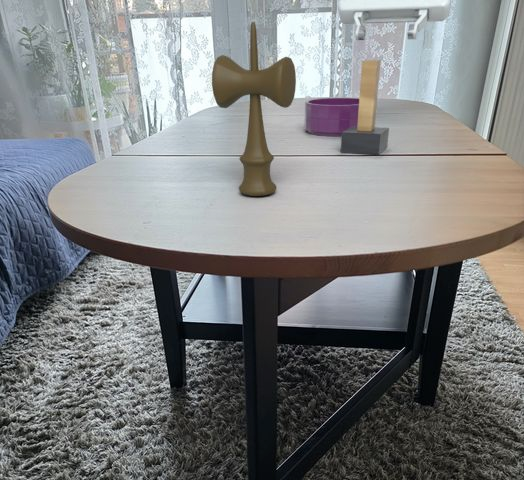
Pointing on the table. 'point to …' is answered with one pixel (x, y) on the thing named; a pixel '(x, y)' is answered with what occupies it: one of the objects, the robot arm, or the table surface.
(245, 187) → the kendama
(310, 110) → the bowl
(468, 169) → the table surface
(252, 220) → the table surface
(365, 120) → the brush
